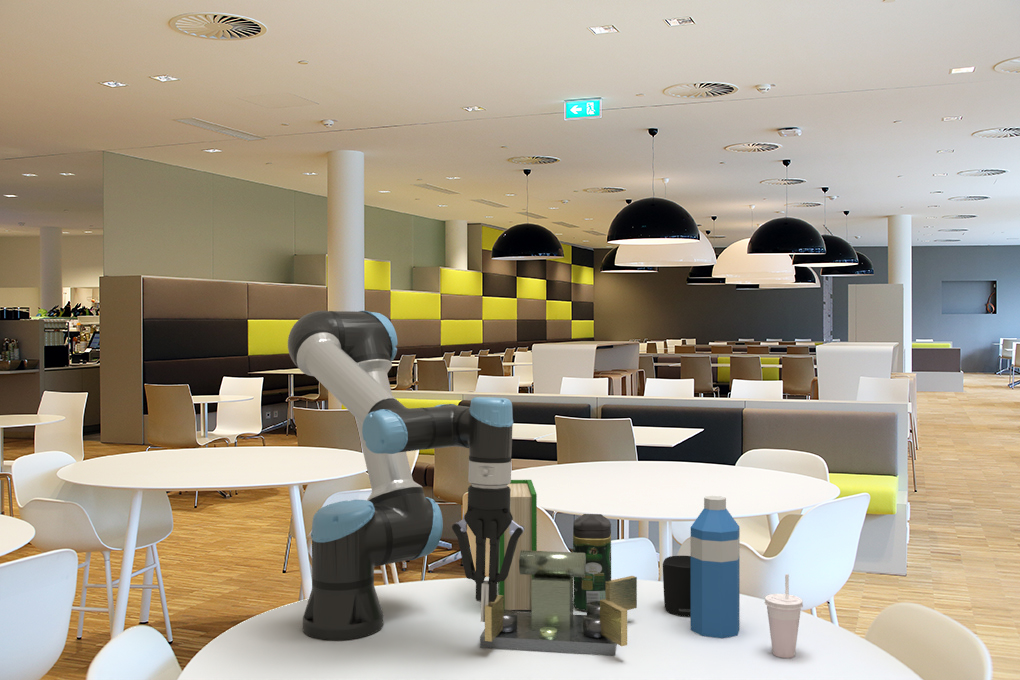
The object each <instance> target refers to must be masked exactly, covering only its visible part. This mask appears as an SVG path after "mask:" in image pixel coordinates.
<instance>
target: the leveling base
mask: <svg viewBox="0 0 1020 680" xmlns="http://www.w3.org/2000/svg"><path fill="white" fill-rule="evenodd" d="M519 572H520V574H521V575H534V576H533V578H532V610H531V611H517V610H514V611H515V612H517V629H516V630H514V631H511V632H500V633H499V634H498V635H497V636H496V637H495V638H494V639H493V641H492V642H491V641H485V628H484V629H483V630H482V633H481V634H480V636H479V648H482V649H497V650H516V651H531V652H532V651H533V652H545V653H546V652H550V653H564V654H565V653H566V654H581V655H582V654H583V655H599V656H601V655H602V656H616V653H617V645H618V644H616V643H615V642H613V641H611V640H610V639H608V638H606V637H590V636H587V635H585V634H583V617H584V616H586V614H574V579H573V577H585V573H586V554H585V553H577V552H573V551H571V552H570V551H549V550H537V551H527V550H521V552H520V557H519Z"/></svg>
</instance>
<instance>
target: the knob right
mask: <svg viewBox="0 0 1020 680" xmlns="http://www.w3.org/2000/svg"><path fill="white" fill-rule="evenodd" d="M583 634H585V635H587V636H590V637H606V638H608V639H610V640H611V641H613V642H615V643H616V644H617V645H618V646H620V647H626V646H628V610H626V609H624V608H622V607H620V606H618V605H616V604H614V603H612V602H610V601H608V600H606V599H603V600H600V614H592V615H587V616H584V617H583Z"/></svg>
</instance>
